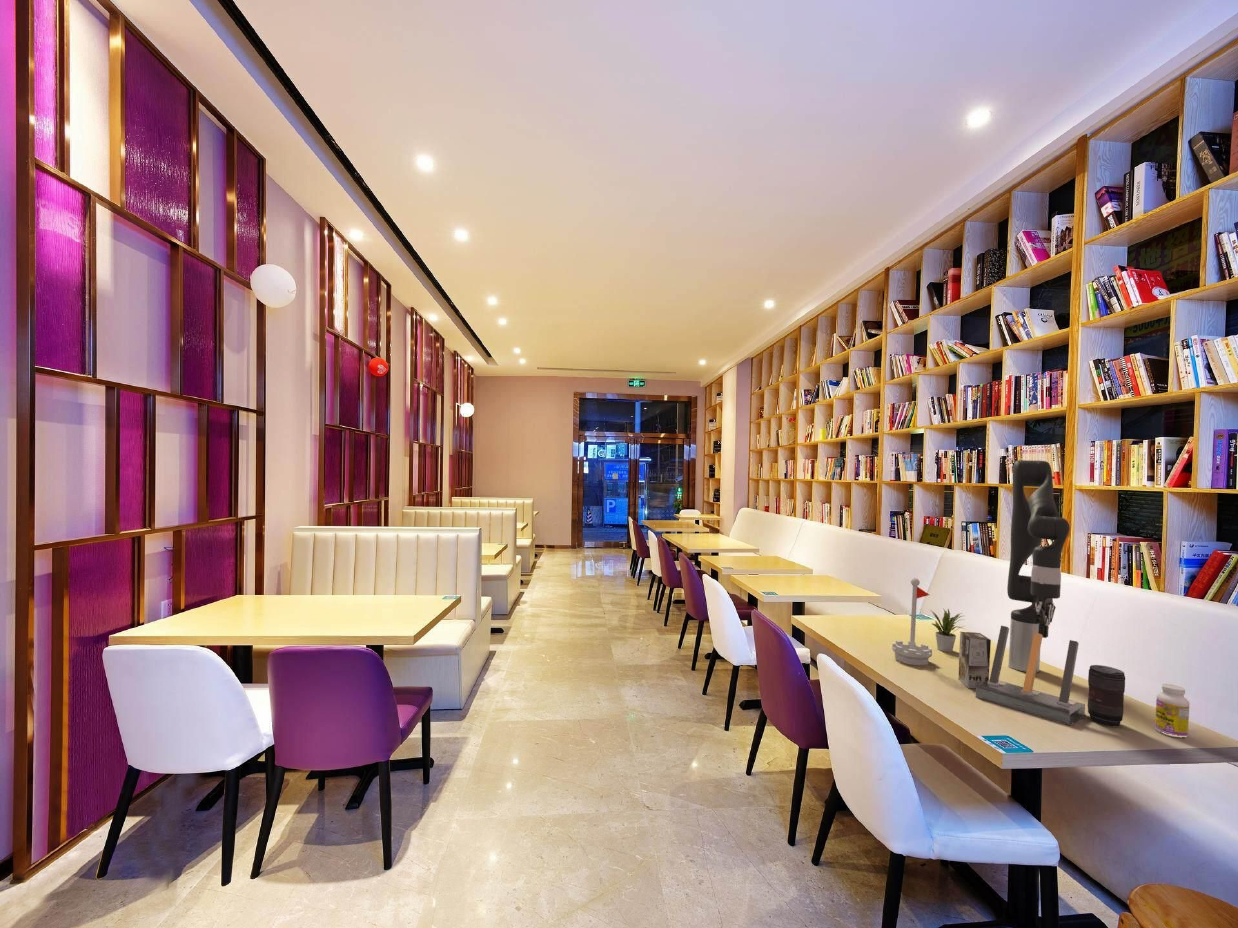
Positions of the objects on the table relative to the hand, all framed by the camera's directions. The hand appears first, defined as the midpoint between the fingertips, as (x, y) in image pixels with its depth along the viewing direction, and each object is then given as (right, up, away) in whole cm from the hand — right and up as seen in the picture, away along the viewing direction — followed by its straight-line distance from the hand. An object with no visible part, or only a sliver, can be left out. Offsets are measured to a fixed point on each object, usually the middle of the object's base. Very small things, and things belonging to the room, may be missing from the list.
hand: (1043, 636), depth 187 cm
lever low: (-16, -14, -1) cm, 21 cm away
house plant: (-3, -20, +48) cm, 52 cm away
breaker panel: (-9, -19, -6) cm, 22 cm away
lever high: (-5, -15, -15) cm, 21 cm away
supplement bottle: (+19, -20, -22) cm, 36 cm away
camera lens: (+6, -20, -16) cm, 26 cm away
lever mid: (-10, -15, -8) cm, 19 cm away
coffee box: (-16, -19, +10) cm, 26 cm away
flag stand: (-24, -18, +34) cm, 46 cm away
